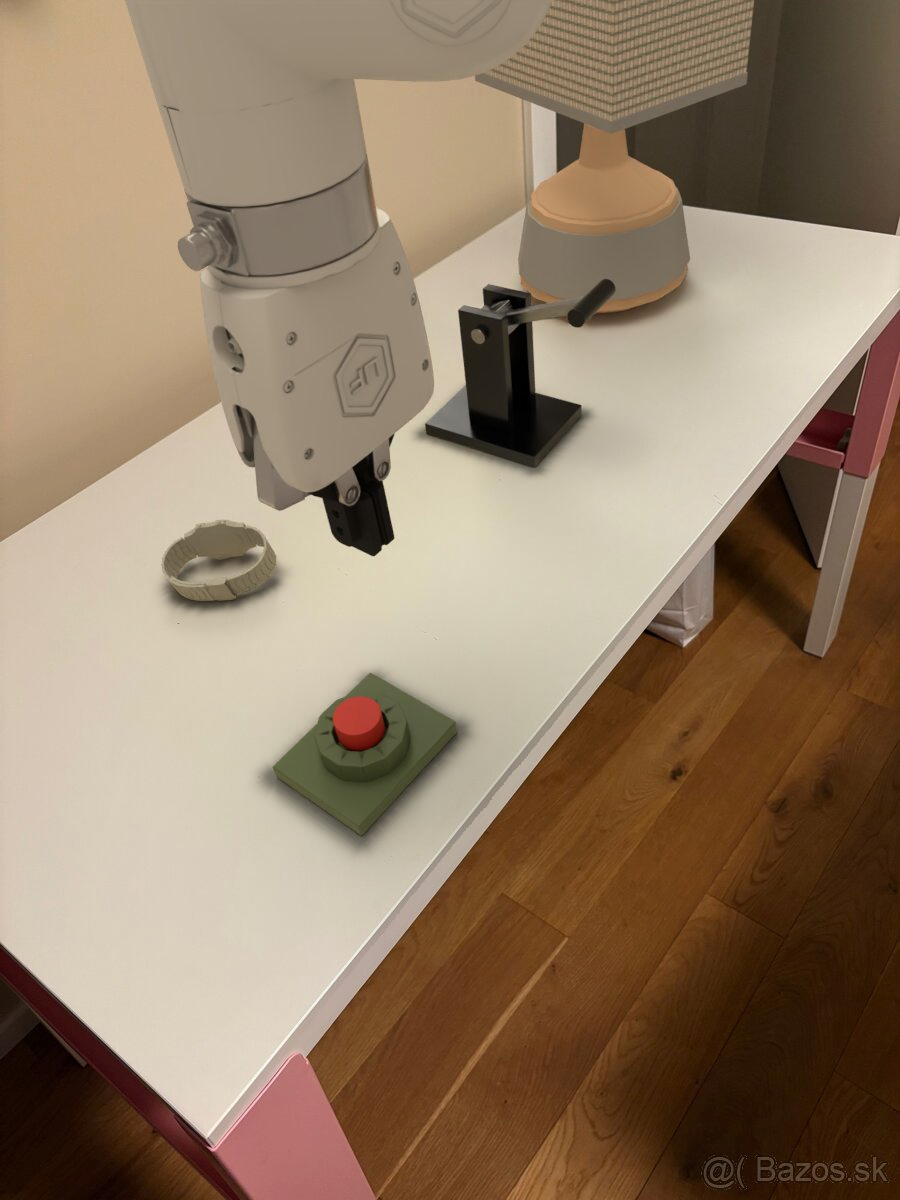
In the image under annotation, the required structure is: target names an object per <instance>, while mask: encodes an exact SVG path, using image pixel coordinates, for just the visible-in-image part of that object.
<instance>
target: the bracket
mask: <svg viewBox="0 0 900 1200" xmlns="http://www.w3.org/2000/svg"><path fill="white" fill-rule="evenodd" d="M482 297H483V306H485V305H486V304H491V303H496V302H501V301H506V300H510V302H511V305H512V307H513V309H519V308H524V307H529V306H533V305H532V295H531V293H529V292H528V291H524V290H523V291H522V290H518V289H513V288H509V287H505V286H504V287H503V286H499V285H495V284H490V283H488V284H487V285H485V286H484V287H483V288H482ZM457 314H458V315H457V316H458V322H459V323H458V324H459V333H460V342H461V351H462V362H463V371H464V380H465V385H464V386H463V387H462V388H461V389H460V390H459V391H458V392H457V393H456V394H454V396H453V397H452V398H450V399H449V400H448V401H447V402H446V403H445V404H444V405H443V406H442V407H441V408H440V409H439V410H438V411H436V413H435V414H434V415H433V416H431V417H430V418H429V419H428V420H427V421H426V422H425V423H424V426H425V427H424V428H425V433H426V435H429V436H432V437H435V438H439V439H442V440H445V441H448V442H450V443H454V444H457V445H461V446H464V447H467V448H470V449H473V450H477V451H481V452H483V453H487V454H490V455H493V456H496V457H500V458H503V459H507V460H508V461H509V460H510V461H512V462H516V463H519V464H523V465H526V466H529V467H531V468H536V467H537V465H538V464H540V462H541V461H542V460H543V459H544V458H545V457H546V455H548V454H549V452H550V451H551V450H552V449H553V448H554V447H555V446H556V444H557V443H558V442H559V441H560V440H561V439H562V438H563V437H564V436H565V435H566V433H567V432H568V431H569V430H570V429H571V428H572V427H573V426H574V425H575V424H576V422H577V421H578V420H579V419H580V418H581V417H582V415H583V407H582V404H579V403H575V402H572V401H568V400H564V399H561V398H556V397H553V396H549V395H546V394H542V393H538V392H536V374H535V351H534V350H535V349H534V327H533V322H527V323H522V324H519V326H517V327H516V328H515V329H514V330H513V331H512V332H511V333H510V334H509V335H508V323H507V315H505V314H501V313H496V312H492V311H488V310H483V309H481V308H478V307H474V306H469V305H465V304H464V305H462V306H461V307H460V308H459V309H458V310H457Z"/></svg>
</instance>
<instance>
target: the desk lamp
mask: <svg viewBox="0 0 900 1200" xmlns="http://www.w3.org/2000/svg"><path fill="white" fill-rule="evenodd" d="M754 7H755V0H552V2H551V5H550V7H549V10H548V12H547V14H546V16H545V18H544V20H543V21H542V23H541V25H540V27H539V28H538V29H537V31H536V32H535V33H534V35H533V36H532V37H531V39H530V40H529V41H528V42H527V43H526V44H525V45H524V47H523V48H522V49H521V50H520V51H518V52H517V53H516V54H515V55H514V56H512V57H511V58H510V59H508V60H507V61H505V62H503V63H502V64H500V65H498V66H497V67H495V68H493V69H491V70H489V71H487V72H484V73H482V74H479V75H475V76H474V81H475V82H477V83H480V84H483V85H485V86H487V87H490V88H492V89H495V90H497V91H499V92H502V93H506V94H508V95H510V96H512V97H513V96H514V97H516V98H518V99H521V100H523V101H526V102H529V103H531V104H534V105H536V106H539V107H541V108H544V109H546V110H549V111H551V112H554V113H556V114H560V115H562V116H565V117H567V118H569V119H572V120H575V121H578V122H580V123H583V130H582V138H581V143H580V151H579V157H578V158H577V159H576V160H575V161H573V162H572V163H570V164H568V165H567V166H566V167H564V168H563V169H561V170H560V171H558V172H556V173H555V174H553V175H552V176H550V177H549V178H547V179H545V180H543V181H541V182H540V183H539V184H538V186H536V188H535V189H534V191H533V192H532V193H531V195H530V198H529V199H527V201H526V205H525V213H524V219H523V224H522V232H521V238H520V244H519V251H518V257H517V262H518V275H519V277H520V285H521V286H522V287H523V288H524V289H525V290H526V292H527V293H531V297H533V298H535V299H537V300H539V301H542V302H545V303H550V302H556V301H561V300H566V299H572V298H577V297H582V296H585V295H586V294H587V293H588V292H589V291H590V290H592V289H593V288H594V287H595V286H596V285H597V284H598V283H599V282H600V281H601V280H602V279H609V280H611V281H612V282H613V283H614V285H615V288H616V290H615V294H614V295H613V296H612V297H611V298H610V299H609V300H608V301H607V302H606V303H605V304H604V305H603V306H602V307H601V308H600V309H599V310H598V311H597V312H596V313H595V314H606V313H607V314H608V313H610V314H611V313H619V312H623V311H627V310H630V309H633V308H636V307H639V306H642V305H647V304H649V303H653V302H656V301H658V300H660V299H661V298H663V297H664V296H666V295H667V294H669V293H671V292H672V291H674V290H675V289H677V288H678V287H680V286H681V284H682V282H683V280H684V279H685V277H686V274H687V273H688V271H689V262H690V260H691V254H690V249H689V241H688V234H687V226H686V219H685V213H684V212H685V211H684V204H683V199H682V196H681V193H680V190H679V188H678V187H677V186H676V185H675V184H676V183H675V182H674V180H673V179H671V178H669V177H668V176H667V175H665V174H663V173H662V172H661V171H659V170H656V169H654V168H652V167H651V166H648V165H647V164H644V163H643V162H640V161H639V160H637V159H635V158H634V157H631V156H629V151H628V144H627V137H626V135H627V134H626V129H629V128H631V127H634V126H637V125H639V124H642V123H645V122H648V121H650V120H653V119H656V118H658V117H662V116H664V115H667V114H669V113H672V112H675V111H678V110H681V109H684V108H686V107H688V106H691V105H694V104H697V103H699V102H700V103H701V102H702V101H705V100H707V99H711V98H713V97H716V96H718V95H722V94H724V93H727V92H729V91H733V90H735V89H738V88H740V87H743V86H746V85H747V84H748V63H749V53H750V44H751V35H752V25H753V17H754ZM595 314H594V315H595Z"/></svg>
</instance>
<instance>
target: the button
mask: <svg viewBox="0 0 900 1200" xmlns="http://www.w3.org/2000/svg"><path fill="white" fill-rule="evenodd" d="M333 723H334V727H335V730H336V733H337V736H338V739H339V742H340V743H341V744H342V745H343V746H344V747H346V748H347V749H350V750H355V751H361V750H366V749H369V748H371V747H373V746H375V745H376V744H377V743H378V742H379V741H380V740H381V739H382V737H383V735H384V732H385V725H384V721H383V717H382V713H381V709H380V707H379V705H378V704H377V703H376V702H375V701H374V700H373V699H371V698H368V697H362V696H359V697H353V698H349V699H347V700H345V701H344V702H342V703H341V704H340V705H339V706H338V707H337V708H336V710H335V712H334V714H333Z"/></svg>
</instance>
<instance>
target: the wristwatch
mask: <svg viewBox="0 0 900 1200" xmlns="http://www.w3.org/2000/svg"><path fill="white" fill-rule="evenodd" d="M256 547H263V550H262V554H261V555H260V557H259V559H257V561H256V562H255V563H254V564H253V565H252V566H251V567H249V568H248V569H246V570H244V571H243V572H241V573H238V574H236V575H232V576H229V577H227V576H226V577H218V578H211V579H206V580H205V581H195V582H193V581H184V580H180V579H178V576H179V575H178V574H179V573H180V571H181V569H182V568H183V567H184V566H185V565H186V564H188V563H189V562H190V561H192V560H194V559H196V558H197V557H198V558H211V559H216V560H217V561H219V560H221V561H222V560H226V559H228V558H234V557H242V556H245V555H246V553H247V552H248V551H249V550H252V549H254V548H256ZM277 561H278V560H277V555H276V553H275V550H274V549H273V547H272V545H271V543H270V542H269V541H268V539H267V537H266V535H265V534H264V533H263V532H262V531H261V530H260V529H258V528H257V527H255V526H252V525H248V524H245V523H244V522H238V521H233V520H229V519H217V520H214V521H210V522H202V523H197V524H195V527H193V528H192V529H191V530H189V531H188V532H185V533H184V534H183V537H179V538H177V539H176V540H174V541H173V542H172V543H171V544H170V545H169V546H168V547H167V549H166V550H165V551H164V554H163V555H162V558H161V564H160V565H161V566H160V567H161V571H162V574H163V576H164V577H165V578H166V579H167V581H168V582H169V583H170V584H171V585H172V587H173V588H174V589H175V590H176V591H177V593H178V594H179V595H181V596H182V597H184V598H186V599H189V600H192V601H196V602H213V601H219V602H220V601H233V600H235V599H236V598H237V597H238V595H239V594H244V593H245V592H249V591H251V590H254V589H256V588H257V587H259V586H260V585H262V584H263V583H264V582H266V581H267V580H268V579H269V577H271V575H272V574H273V572H274V570H275V569H276V566H277Z"/></svg>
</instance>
